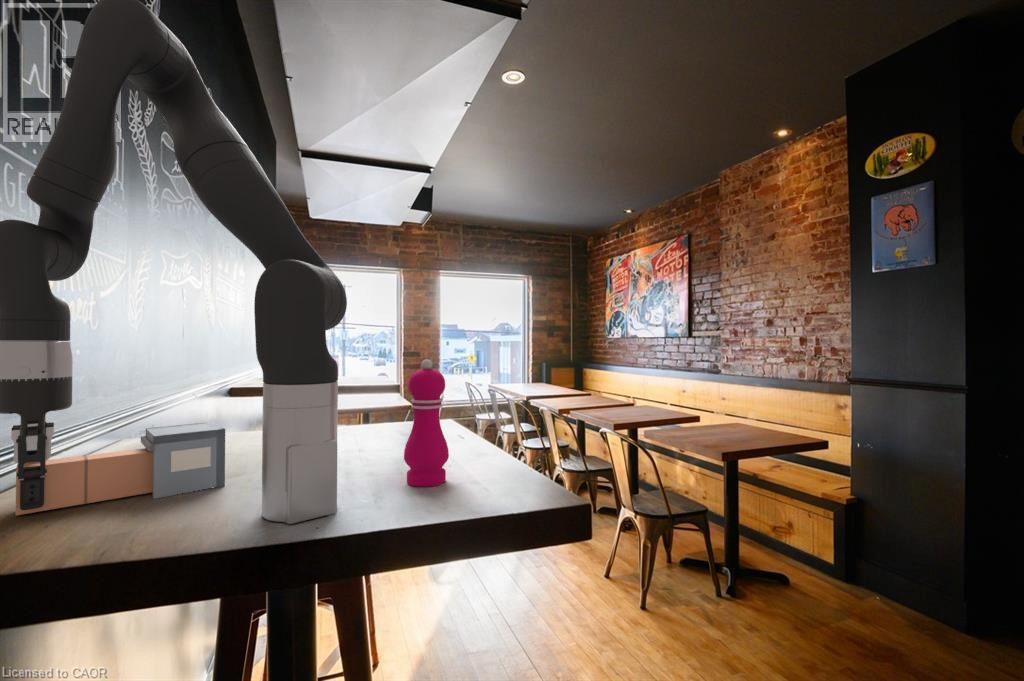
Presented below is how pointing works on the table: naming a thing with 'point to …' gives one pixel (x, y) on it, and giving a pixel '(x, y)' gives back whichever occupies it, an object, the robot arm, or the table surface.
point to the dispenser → (186, 457)
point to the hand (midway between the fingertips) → (32, 503)
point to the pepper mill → (426, 429)
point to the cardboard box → (93, 478)
